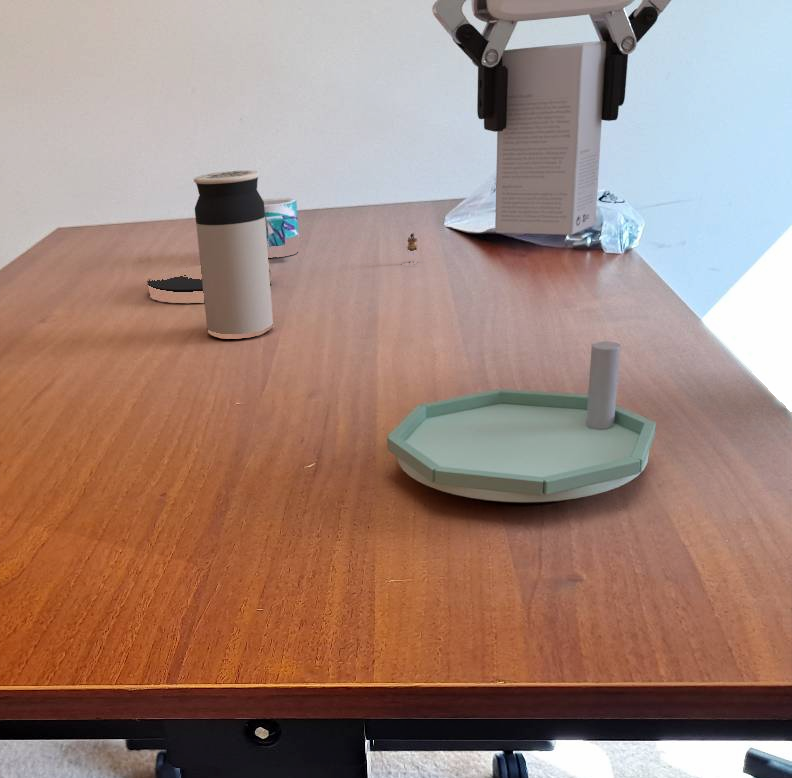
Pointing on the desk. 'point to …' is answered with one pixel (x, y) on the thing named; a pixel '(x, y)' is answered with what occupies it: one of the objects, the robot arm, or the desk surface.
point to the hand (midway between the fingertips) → (549, 122)
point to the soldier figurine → (412, 243)
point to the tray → (527, 440)
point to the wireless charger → (178, 284)
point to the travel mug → (233, 252)
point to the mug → (280, 220)
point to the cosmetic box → (550, 139)
